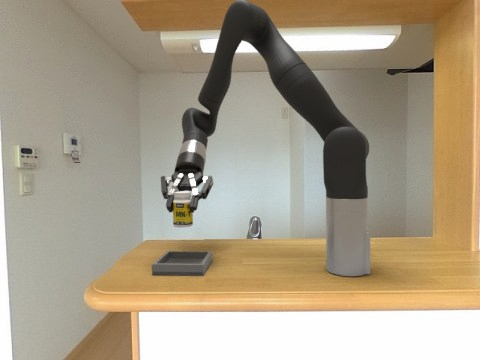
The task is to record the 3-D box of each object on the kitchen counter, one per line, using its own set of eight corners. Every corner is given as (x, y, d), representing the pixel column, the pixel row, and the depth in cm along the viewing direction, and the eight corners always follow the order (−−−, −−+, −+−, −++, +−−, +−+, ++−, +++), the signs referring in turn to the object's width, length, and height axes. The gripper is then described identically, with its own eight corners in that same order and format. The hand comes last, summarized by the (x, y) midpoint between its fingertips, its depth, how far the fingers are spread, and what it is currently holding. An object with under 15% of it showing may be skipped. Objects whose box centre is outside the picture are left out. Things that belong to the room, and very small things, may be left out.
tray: (212, 260, 89) (212, 251, 89) (203, 275, 77) (203, 264, 77) (167, 260, 90) (167, 250, 90) (152, 275, 78) (151, 264, 78)
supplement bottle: (174, 228, 80) (173, 193, 80) (172, 224, 85) (171, 191, 84) (194, 227, 81) (193, 192, 81) (191, 223, 86) (190, 190, 85)
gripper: (162, 150, 90) (147, 200, 79) (215, 150, 89) (208, 200, 77) (168, 170, 95) (155, 219, 84) (218, 169, 94) (212, 219, 83)
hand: (180, 210), depth 81 cm, fingers closed on supplement bottle, 4 cm apart
